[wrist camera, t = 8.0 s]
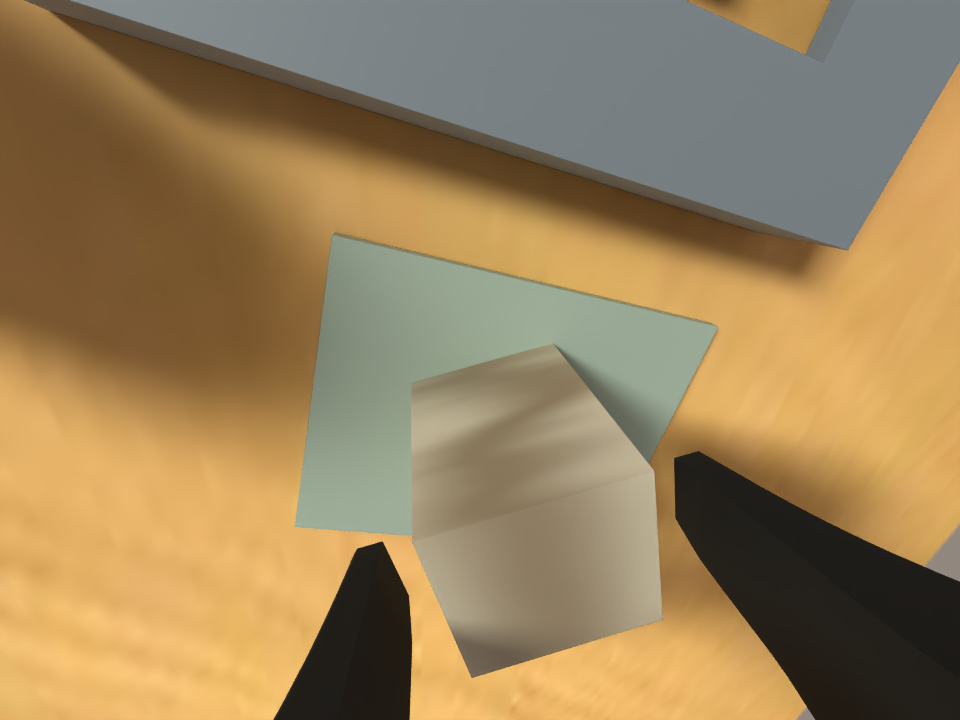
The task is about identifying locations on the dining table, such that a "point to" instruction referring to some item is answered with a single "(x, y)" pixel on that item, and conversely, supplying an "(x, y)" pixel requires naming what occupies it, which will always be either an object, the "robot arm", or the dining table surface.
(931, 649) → the robot arm
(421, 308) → the zone pad
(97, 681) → the dining table surface
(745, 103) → the box
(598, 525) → the maple block
